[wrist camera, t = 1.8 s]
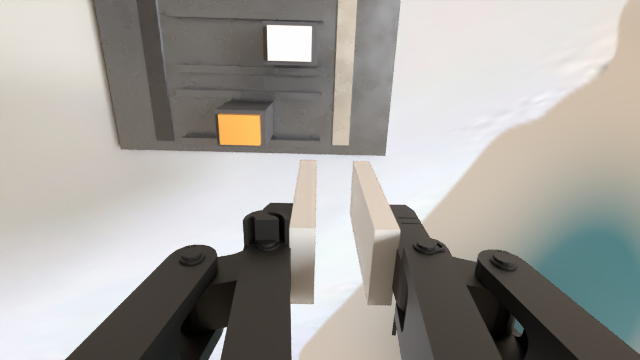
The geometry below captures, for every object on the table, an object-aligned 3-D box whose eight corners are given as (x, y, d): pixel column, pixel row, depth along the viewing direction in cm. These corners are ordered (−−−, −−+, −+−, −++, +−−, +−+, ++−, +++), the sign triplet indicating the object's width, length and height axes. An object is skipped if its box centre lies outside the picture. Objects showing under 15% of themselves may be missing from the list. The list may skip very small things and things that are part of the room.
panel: (126, 146, 35) (114, 152, 33) (83, -96, 28) (64, -108, 25) (383, 152, 35) (387, 159, 33) (406, -85, 28) (413, -95, 26)
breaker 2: (271, 62, 31) (262, 64, 25) (271, 25, 30) (261, 20, 24) (316, 63, 31) (316, 66, 26) (317, 26, 30) (317, 21, 24)
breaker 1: (231, 132, 33) (215, 148, 28) (229, 100, 32) (212, 110, 27) (273, 133, 33) (265, 149, 28) (272, 101, 32) (263, 112, 27)
